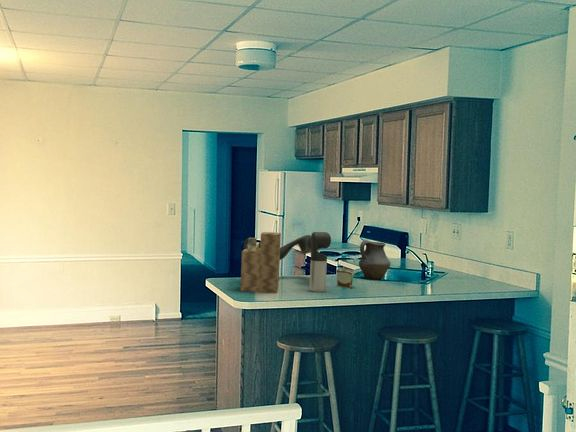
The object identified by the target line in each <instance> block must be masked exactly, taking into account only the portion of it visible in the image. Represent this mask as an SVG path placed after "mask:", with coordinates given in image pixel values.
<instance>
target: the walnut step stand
mask: <svg viewBox="0 0 576 432" xmlns="http://www.w3.org/2000/svg"><path fill="white" fill-rule="evenodd" d="M281 234H282V233H281V232H269V231H263V232H262V233H260V242H261V244H260V250H259V249H257V250H256V251H248V248H247V249H245V248H244V249H243V250H242V251H241V267H240V269H241V270H240V292H250V293H267V294H268V293H272V294H275V293H276V294H277V293H278V291H279V287H280V284H279V283H280V263H281V260H280V248H281V239H282V238H281V237H282V235H281Z"/></svg>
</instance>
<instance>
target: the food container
mask: <svg viewBox="0 0 576 432" xmlns="http://www.w3.org/2000/svg"><path fill="white" fill-rule="evenodd" d="M335 273H336V286H337V287H339V286H341V287H340V288H344V287H347V288H346V289H352V288H353V283H354V282H353V281H354V276H355V271H354V270H353V269H346V268H345V269H344V268H342V269H341V268H337V269H336V270H335Z"/></svg>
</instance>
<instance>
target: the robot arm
mask: <svg viewBox="0 0 576 432" xmlns="http://www.w3.org/2000/svg"><path fill="white" fill-rule="evenodd" d="M248 238H249V237H248ZM248 238H247V239H245V240H243V247H244V249H248ZM331 242H332V238H331V235H330V233H328V232H325V231H313V232H312V233H311V235H310V234H306V235H303V236H300V237H298V238H297V239H294V240H292V241H290V242H288V243H287V244H285V245H283V246H280V261H281V260H283V259H284V258H286V256H288V254H289V253H290V252H291V250H292V249H293V248H294V247H295V246H296V245H298V247H299V250H300V252H301V253H302V254H304V255H305V254H307V255H308V254H310V268H309V269H310V270H309V273H310V274H309V291H310V292H314V293H315V292H316V293H317V292H318V293H319V292H320V293H323V292H325V293H326V292H327V290H326V289H327V268H328V267H327V266H328V256H327V255H326V254H324V253H321V252H319V250H321V249H328V248H329V247H330V246H331ZM260 244H261V241H260V242H259V248H258V249H259V250H260Z"/></svg>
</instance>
